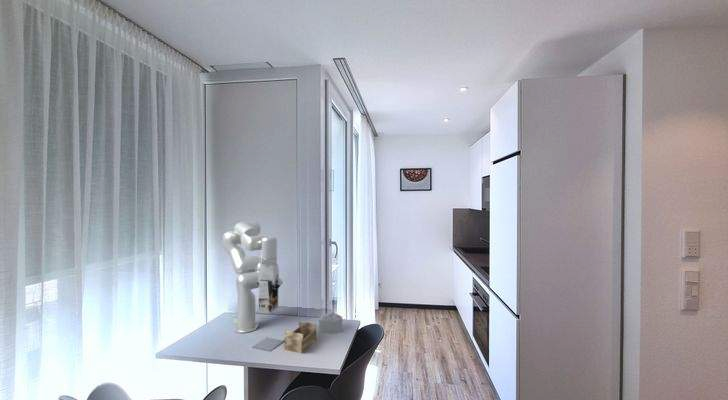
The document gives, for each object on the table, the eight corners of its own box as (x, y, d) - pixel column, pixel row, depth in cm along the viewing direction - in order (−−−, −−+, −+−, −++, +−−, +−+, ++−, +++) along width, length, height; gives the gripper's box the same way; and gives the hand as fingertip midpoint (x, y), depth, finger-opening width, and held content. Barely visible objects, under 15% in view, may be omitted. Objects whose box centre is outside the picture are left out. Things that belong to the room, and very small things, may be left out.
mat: (252, 347, 148) (252, 346, 148) (266, 337, 158) (266, 337, 158) (270, 351, 144) (270, 350, 144) (284, 341, 155) (284, 340, 155)
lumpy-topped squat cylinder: (322, 325, 175) (322, 310, 175) (344, 326, 173) (344, 311, 173) (317, 333, 165) (317, 317, 165) (340, 334, 163) (340, 318, 163)
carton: (284, 349, 146) (284, 331, 146) (299, 338, 159) (299, 321, 159) (302, 353, 143) (302, 334, 143) (316, 341, 155) (316, 324, 155)
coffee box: (269, 313, 146) (270, 281, 146) (258, 312, 148) (258, 280, 148) (278, 307, 155) (279, 276, 155) (267, 306, 157) (267, 275, 157)
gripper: (250, 261, 151) (250, 296, 151) (278, 264, 145) (278, 300, 145) (260, 258, 158) (259, 292, 158) (287, 261, 152) (287, 295, 152)
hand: (268, 295), depth 152 cm, fingers closed on coffee box, 7 cm apart
